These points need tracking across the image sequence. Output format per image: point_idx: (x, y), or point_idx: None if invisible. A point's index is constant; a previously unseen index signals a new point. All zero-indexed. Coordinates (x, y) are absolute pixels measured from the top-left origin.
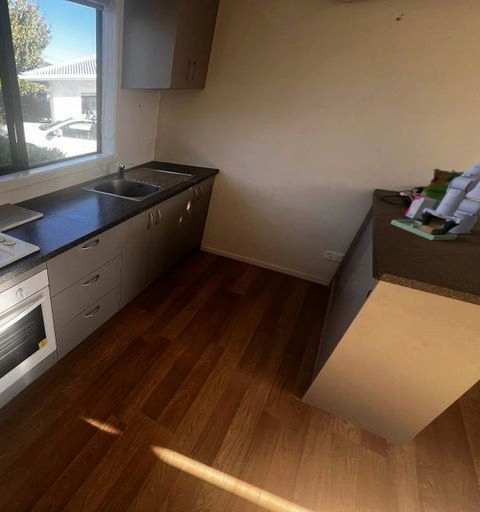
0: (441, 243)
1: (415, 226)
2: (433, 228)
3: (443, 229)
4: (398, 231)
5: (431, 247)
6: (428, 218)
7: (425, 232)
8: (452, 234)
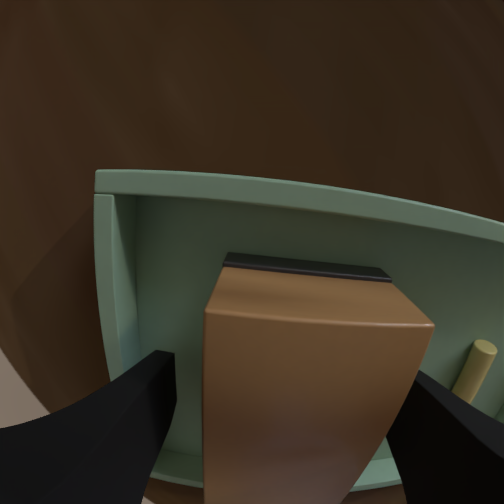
0: (55, 198)
1: (461, 377)
2: (229, 351)
3: (99, 401)
4: (445, 56)
5: (41, 2)
6: (469, 499)
7: (254, 189)
8: (171, 472)
